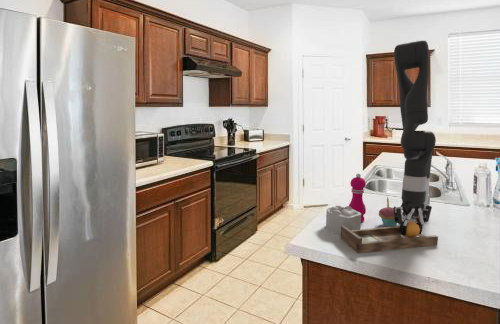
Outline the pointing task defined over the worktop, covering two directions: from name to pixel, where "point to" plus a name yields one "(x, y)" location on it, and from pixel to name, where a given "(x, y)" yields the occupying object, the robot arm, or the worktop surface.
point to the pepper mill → (358, 195)
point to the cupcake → (387, 215)
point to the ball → (412, 229)
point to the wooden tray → (383, 239)
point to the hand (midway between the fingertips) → (410, 234)
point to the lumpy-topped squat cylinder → (342, 219)
